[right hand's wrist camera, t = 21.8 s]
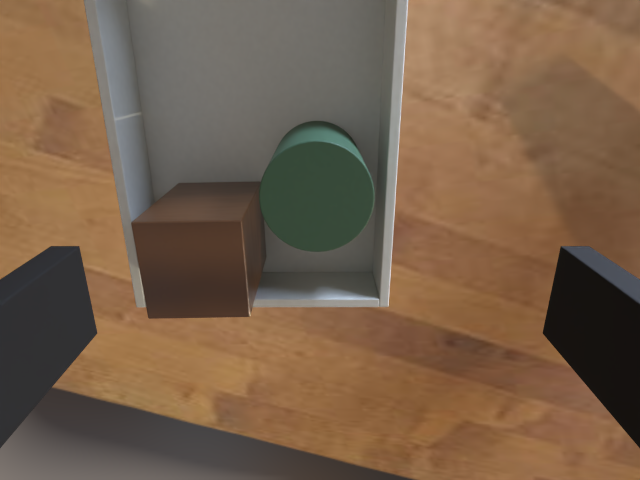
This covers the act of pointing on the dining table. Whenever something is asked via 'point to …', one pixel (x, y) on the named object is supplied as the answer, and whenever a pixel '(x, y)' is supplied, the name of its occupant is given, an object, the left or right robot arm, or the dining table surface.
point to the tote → (254, 116)
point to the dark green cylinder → (316, 188)
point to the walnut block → (201, 250)
